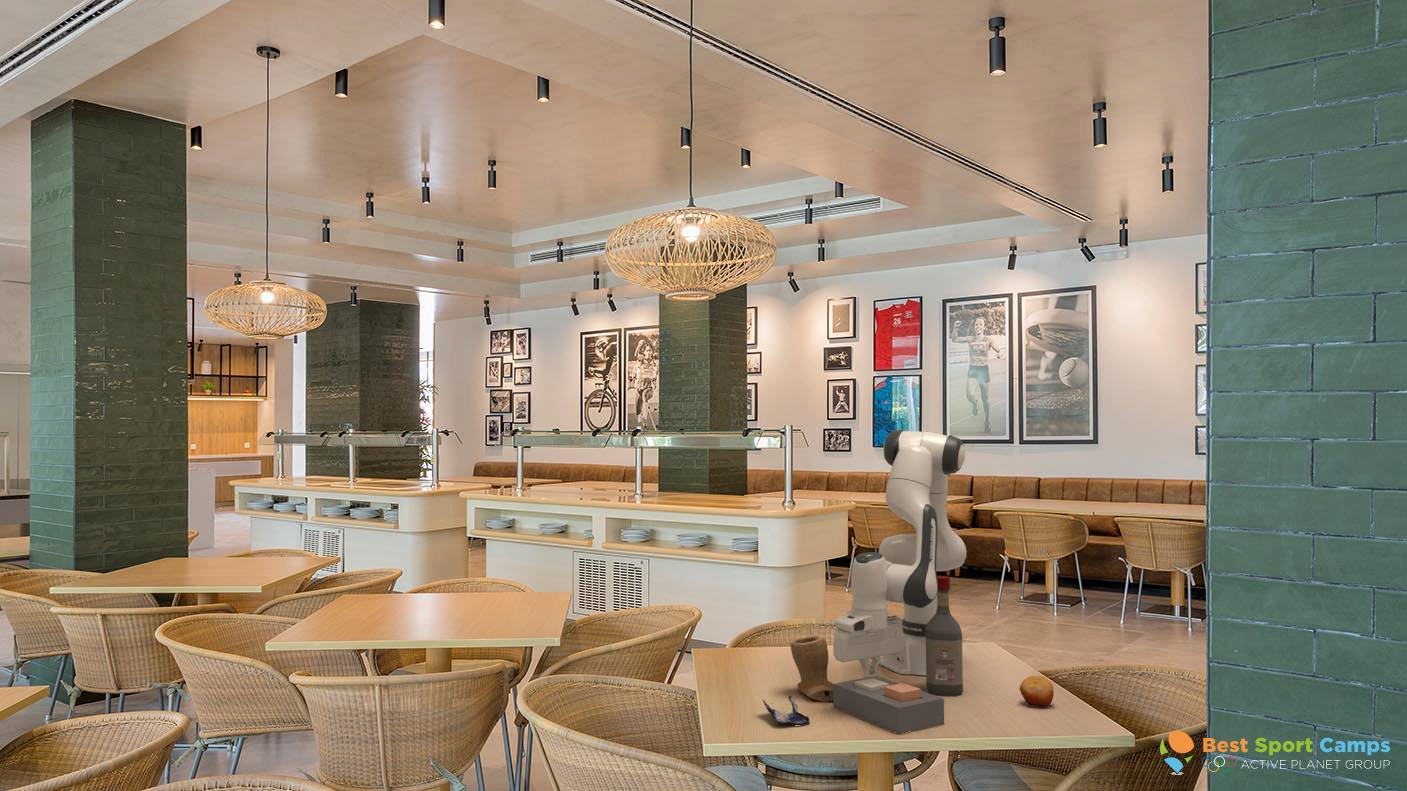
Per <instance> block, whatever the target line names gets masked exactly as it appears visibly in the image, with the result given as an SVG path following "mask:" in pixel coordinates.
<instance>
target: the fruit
mask: <svg viewBox="0 0 1407 791" xmlns="http://www.w3.org/2000/svg"><path fill="white" fill-rule="evenodd" d="M1022 680H1023V681H1021V684H1020V685H1019V691H1020V694H1021V696H1022V698H1023V699H1024V701H1025V702H1026V704H1027V705H1028V706H1030V707H1031V706H1032V707H1042V708H1046V707H1049V706H1051V704H1052V702H1053V698H1054V693H1055V692H1054V691H1055V690H1054V686H1053V683H1052V682H1051V681H1050V680H1048V679H1047V677H1045V676H1043V675H1032V676H1027V678H1025V679H1022Z"/></svg>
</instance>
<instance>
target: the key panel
mask: <svg viewBox="0 0 1407 791" xmlns="http://www.w3.org/2000/svg"><path fill="white" fill-rule="evenodd" d="M872 678H874V679H876V680H879V681H882V682H885V683H888V684H889V686H891V685H896V684H900V683H899V682H895V681H894V682H893V680H891V681H890V679H888V678H884V677H882V676H878V675H871V676H865V677H861V678H856V679H850V680H845V681H841V682H839V681H838V682H835V683H833V701H832V702H833V703H832V704H833V705H832V706H833V707H832V708H833V709H836V710H838V711H840V712H843V713H845V714H847V715H850V716H852V717H855V718H857V719H860V720H863V721H865V722H867V723H870V724H873V725H875V726H877V727H880V728H883V729H884V730H887V731H889V730H890V732H893V733H894V732H896V733H895V734H897V733H898V735H899V734H900V735H903V734H902V733H904V734H907V733H906V732H908V733H910V732H909V731H913V732H917V731H920V730H921V731H922V730H925V729H929V728H934V727H939V726H943V725H945V700H944V698H943V697H940V696H939V695H933V694H930V693H928V692H926V691H922V690H921V698H920V699H915V700H911V701H906V702H899V701H896V700H894V699H891V698H888V697H885V696H884V689H878V690H873V691H869V690H866V689H863V688H860V687H858V686H855V682H856V681H862V680H867V679H872ZM887 679H888V680H887ZM916 730H917V731H916Z"/></svg>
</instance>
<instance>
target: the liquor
mask: <svg viewBox="0 0 1407 791" xmlns="http://www.w3.org/2000/svg"><path fill="white" fill-rule="evenodd" d="M937 581H938V591H937V610H936V614H935V615H934V616H933V617H932V618H931V620H930V621H929V622H928V623H927V625H926V675H925V680H926V690H927V693H929V694H932V695H935V696H942V697H944V696H945V697H957V696H961V695H962V694H963V691H964V684H963V683H964V682H963V681H964V680H963V674H964V673H963V633H962V629H961V627H960V623H958V621H957V620H956V619H955V618H954V617H953V615H952V614H951V611H950V610H951V609H950V590H951V578H950V577H949V576H945V575H944V576H943V575H941V576H938V575H937Z"/></svg>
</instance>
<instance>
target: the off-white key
mask: <svg viewBox="0 0 1407 791" xmlns="http://www.w3.org/2000/svg"><path fill="white" fill-rule="evenodd" d="M855 686H858V687H860V688H863V689H866V690H869V691H873V690H878V689H884V687H886V686H889V684H888V683H885V682H882V681H879V680H876V679H874V678H872V679H867V680H862V681H856V682H855Z"/></svg>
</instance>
